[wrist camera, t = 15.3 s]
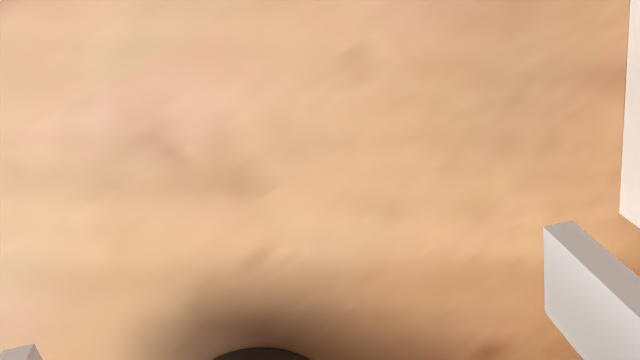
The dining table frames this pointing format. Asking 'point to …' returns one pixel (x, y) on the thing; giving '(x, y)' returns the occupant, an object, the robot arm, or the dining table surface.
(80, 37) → the dining table surface
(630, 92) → the divided white tray
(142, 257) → the dining table surface
